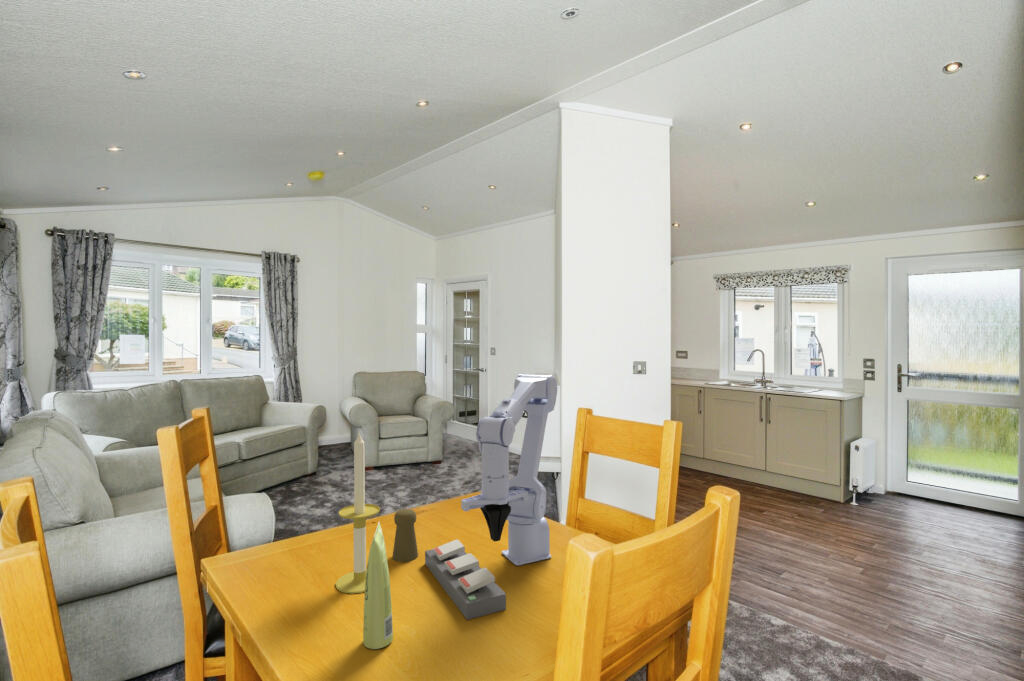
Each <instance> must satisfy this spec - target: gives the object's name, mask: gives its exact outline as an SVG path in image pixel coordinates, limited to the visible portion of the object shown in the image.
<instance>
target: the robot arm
mask: <svg viewBox="0 0 1024 681" xmlns="http://www.w3.org/2000/svg"><path fill="white" fill-rule="evenodd" d="M557 396H558V381H557V379H556V377H555V375H554V374H549V375H547V374H546V375H545V374H523V373H518V375H517V376H516V377H515V379H514V382H513V392H512V393H511V396H510V398H508V397H507V398H503V399H502V400H501V402H500V403H499V404H498V405H497V407H496V408H495V409H494V410H493V411H492V413H491V414H490V415H489V416H485V417H483V418H481V419H480V420H479V421H478V424H477V427H476V432H475V435H476V441H477V443H478V451H479V453H481V493H480V494H476V495H473V496H471V497H467V498H463V499H461V502H460V503H461V506H460V507H461V510H462V511H463V512H470V510H475V509H480V511H481V512H482V514H483V517H484V519H485V521H486V524H487V528H488V530H489V532H488V533H489V538H490V540H492V541H493V542H500V541H501V538H502V533H503V530H504V527H505V524H506V521H508V522H507V523H508V524H507V525H508V527H507V531H508V532H507V533H508V536H507V537H508V538H507V539H508V540H507V542H508V545H507V547H508V549H504V550H502V551H501V554H502V555H503V556H504V557H506V559H508V560H509V561H510V562H511V563H513V565H515V566H522V565H526V564H530V563H536V562H539V561H543V560H547V559H551V558H552V555H551V553H550V550H551V549H550V546H551V544H550V541H551V540H550V526H549V522H548V521H547V519H546V517H544V516H545V514H546V509H547V490H546V487H545V486H544V485H543V484H542V482H541V481H539V479H538V476H539V475H538V473H539V467H540V461H541V456H542V452H543V451H542V449H543V443H544V437H545V432H546V426H547V421H548V415H549V414H550V413H551V412H552V411H554V410H555V406H556V402H557ZM524 411H525V412H526V413H527V420H526V425H525V430H524V435H523V441H522V446H521V453H520V458H519V464H518V470H517V475H515V476H514V477H513V478H511V479H510V471H509V470H510V462H509V461H510V456H509V454H510V450H509V449H510V445H511V444H512V442H513V438H514V434H515V432H516V426H517V424H518V423H519V422H520V420H521V419H522V418H523V416H524Z"/></svg>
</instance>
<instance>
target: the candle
mask: <svg viewBox="0 0 1024 681" xmlns="http://www.w3.org/2000/svg"><path fill="white" fill-rule="evenodd" d="M365 457H366V456H365V441H364V440H363V438H362V436H361V433H360V431H358V434H357V437H356V440H354V442H353V467H354V468H353V481H354V482H353V485H354V486H353V487H354V488H353V493H354V496H353V497H354V502H353V504H352V505H351V504H350V505H349V506H345V507H342V508H341V509H340V510H339V511H338V515H339V517H340V518H342V519H347V520H353V571H351V572H348V573H345V574H343V575H342V576H341V577H339V578H338V579H337V580H336V582H335V584H334V585H336V586H335V588H337V589H336V590H337V591H338V590H339V592H340V591H341V592H340V593H342V592H343V594H348V593H349V594H350V595H354V594H355V593H356V595H357V593H358V594H363V593H364V594H365V582H366V572H367V542H366V541H367V527H366V526H367V525H366V524H367V522H366V521H367V519H369V518H370V517H373V516H376V515H378V514H379V512H380V510H381V507H380V506H379V505H376V504H374V503H373V504H372V503H366V502H365V501H366V499H365V498H366V497H365V496H366V495H365V494H366V492H365V488H366V486H365V484H366V483H365V479H366V476H365V475H366V474H365V472H366V471H365V469H366V468H365V463H366V462H365Z"/></svg>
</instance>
